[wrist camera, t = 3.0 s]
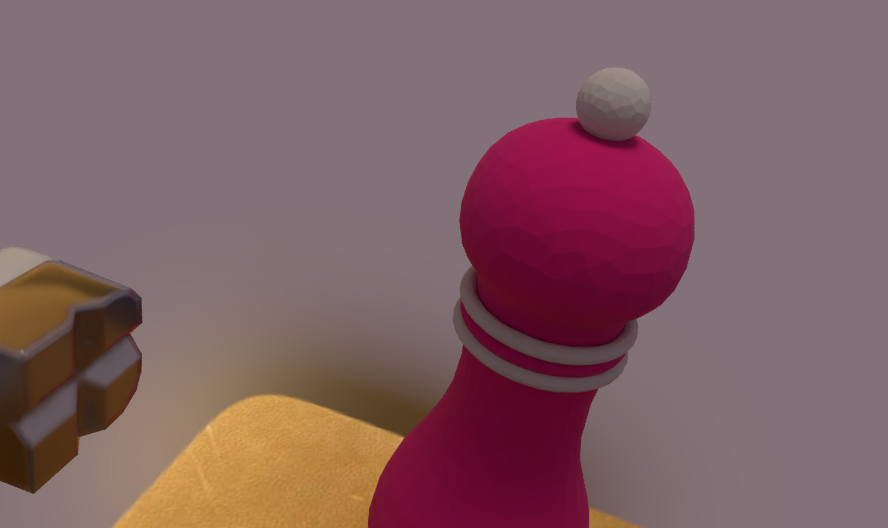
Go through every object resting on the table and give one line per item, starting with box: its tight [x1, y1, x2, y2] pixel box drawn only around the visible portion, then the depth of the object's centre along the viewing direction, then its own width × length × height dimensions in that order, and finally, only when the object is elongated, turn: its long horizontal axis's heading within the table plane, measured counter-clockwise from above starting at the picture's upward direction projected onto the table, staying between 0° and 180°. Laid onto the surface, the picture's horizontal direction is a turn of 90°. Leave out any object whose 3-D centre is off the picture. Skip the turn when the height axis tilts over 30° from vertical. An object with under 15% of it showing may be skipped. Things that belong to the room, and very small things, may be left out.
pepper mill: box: [368, 67, 694, 528], centre depth 24 cm, size 7×7×20 cm
